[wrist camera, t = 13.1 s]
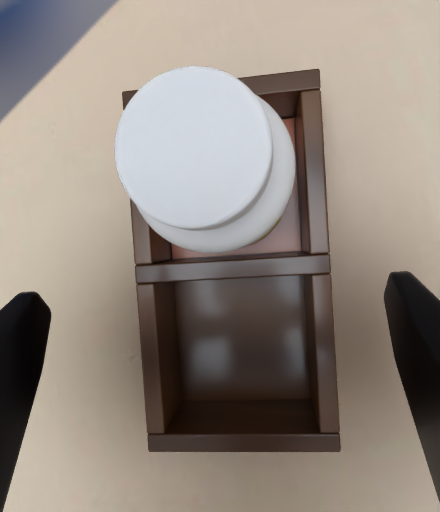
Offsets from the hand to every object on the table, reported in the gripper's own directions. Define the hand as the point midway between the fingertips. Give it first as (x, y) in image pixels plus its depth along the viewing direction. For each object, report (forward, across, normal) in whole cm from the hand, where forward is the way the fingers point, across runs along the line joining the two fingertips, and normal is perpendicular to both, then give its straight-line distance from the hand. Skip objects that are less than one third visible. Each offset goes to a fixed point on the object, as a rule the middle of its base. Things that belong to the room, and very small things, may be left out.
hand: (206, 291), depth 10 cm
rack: (+7, 0, +7) cm, 10 cm away
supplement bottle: (+9, 0, +4) cm, 10 cm away
